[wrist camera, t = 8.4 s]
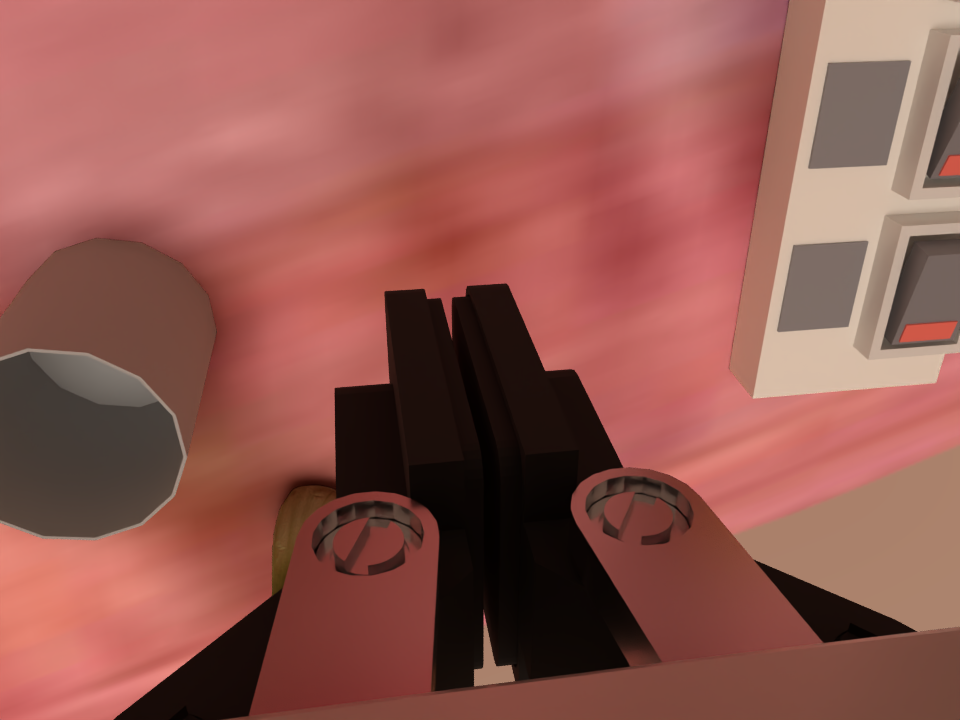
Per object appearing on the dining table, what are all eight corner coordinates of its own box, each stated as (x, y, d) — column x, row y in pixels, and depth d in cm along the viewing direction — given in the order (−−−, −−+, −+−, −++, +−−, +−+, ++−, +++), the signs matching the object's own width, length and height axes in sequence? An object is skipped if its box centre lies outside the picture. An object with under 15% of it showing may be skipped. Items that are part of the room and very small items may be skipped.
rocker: (914, 241, 39) (929, 256, 38) (979, 237, 39) (996, 252, 38) (878, 329, 42) (892, 346, 41) (939, 325, 43) (954, 341, 42)
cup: (219, 250, 39) (189, 360, 30) (214, 406, 43) (185, 542, 34) (13, 229, 37) (-82, 340, 28) (27, 394, 41) (-54, 535, 32)
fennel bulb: (266, 475, 45) (248, 656, 35) (360, 462, 46) (370, 636, 35) (285, 558, 48) (274, 748, 38) (374, 545, 48) (386, 729, 38)
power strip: (836, -283, 32) (903, -302, 28) (1077, -277, 34) (1173, -295, 30) (728, 368, 46) (764, 413, 42) (903, 354, 47) (952, 397, 44)
